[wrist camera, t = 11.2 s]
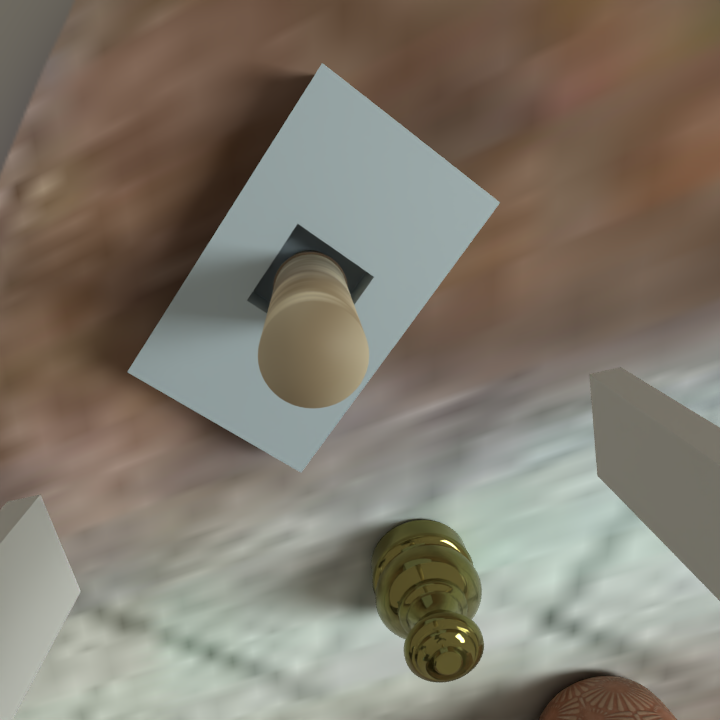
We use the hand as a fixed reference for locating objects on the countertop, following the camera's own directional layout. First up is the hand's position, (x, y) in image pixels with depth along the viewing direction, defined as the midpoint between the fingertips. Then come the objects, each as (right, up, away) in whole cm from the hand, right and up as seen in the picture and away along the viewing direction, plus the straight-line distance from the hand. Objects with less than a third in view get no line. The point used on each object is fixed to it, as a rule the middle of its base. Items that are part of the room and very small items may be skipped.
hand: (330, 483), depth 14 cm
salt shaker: (+5, -12, +31) cm, 34 cm away
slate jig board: (-2, +8, +24) cm, 25 cm away
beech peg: (-2, +8, +22) cm, 24 cm away
